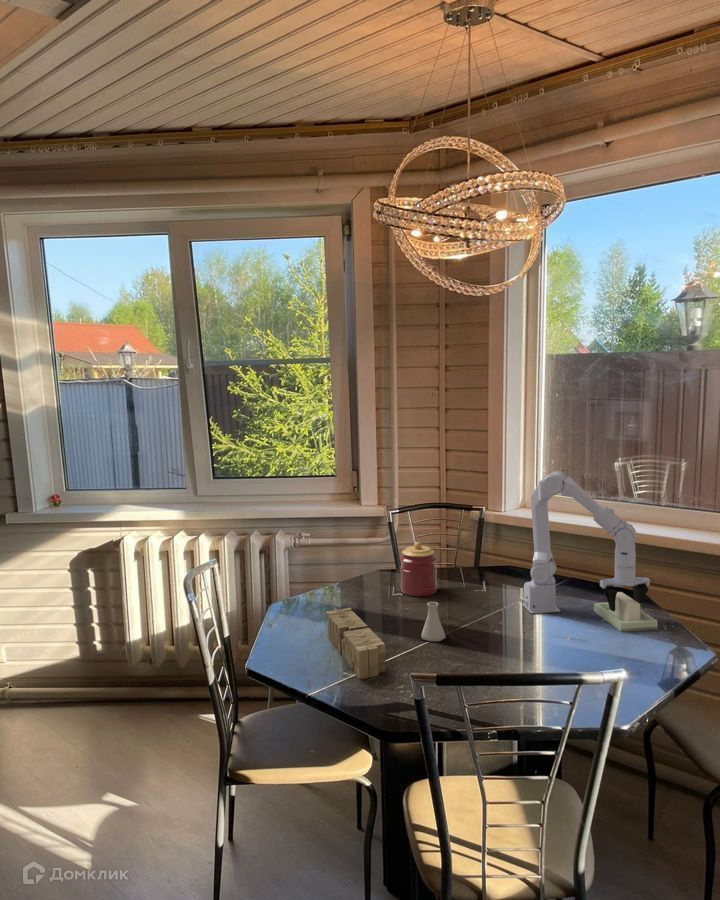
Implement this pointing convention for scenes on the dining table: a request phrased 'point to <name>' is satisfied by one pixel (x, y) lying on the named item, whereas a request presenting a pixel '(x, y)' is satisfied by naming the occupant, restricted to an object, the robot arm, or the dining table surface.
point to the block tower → (356, 643)
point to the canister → (418, 571)
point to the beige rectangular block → (626, 608)
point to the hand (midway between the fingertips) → (624, 609)
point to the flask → (433, 625)
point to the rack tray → (643, 624)
